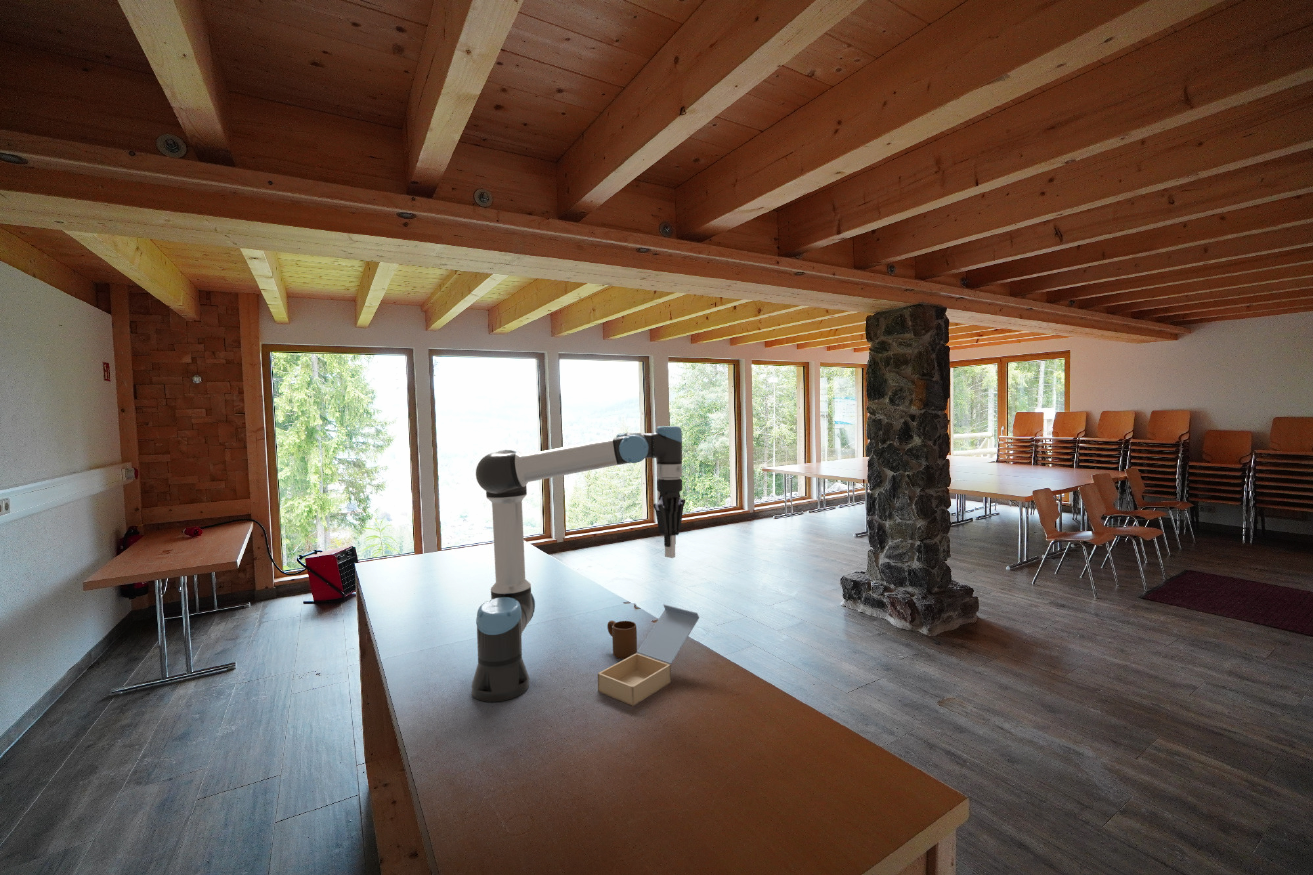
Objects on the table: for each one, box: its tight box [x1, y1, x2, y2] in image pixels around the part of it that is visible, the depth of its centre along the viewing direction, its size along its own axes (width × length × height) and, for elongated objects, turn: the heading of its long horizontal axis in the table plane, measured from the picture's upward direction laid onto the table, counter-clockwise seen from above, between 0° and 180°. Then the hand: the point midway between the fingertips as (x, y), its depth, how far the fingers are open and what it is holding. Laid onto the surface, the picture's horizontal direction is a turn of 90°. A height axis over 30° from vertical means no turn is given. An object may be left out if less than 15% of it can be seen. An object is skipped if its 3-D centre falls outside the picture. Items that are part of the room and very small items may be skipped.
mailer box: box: [597, 653, 672, 707], centre depth 151 cm, size 16×13×5 cm
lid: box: [637, 604, 700, 665], centre depth 162 cm, size 17×13×2 cm
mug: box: [606, 620, 638, 660], centre depth 173 cm, size 12×8×9 cm, turn 43°
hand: (670, 556), depth 164 cm, fingers closed
